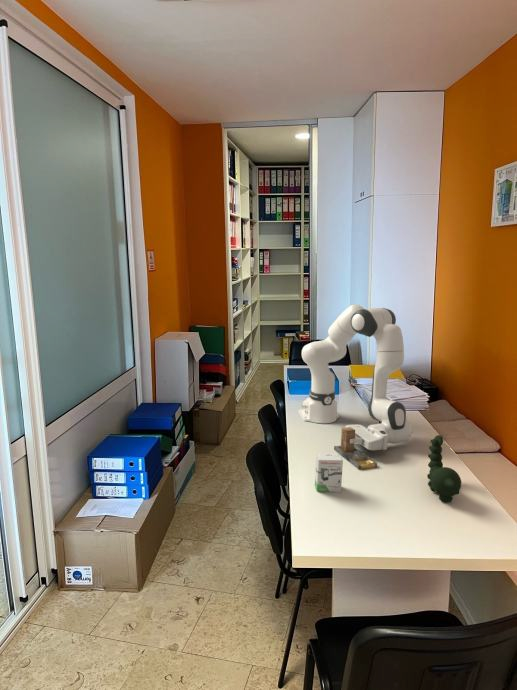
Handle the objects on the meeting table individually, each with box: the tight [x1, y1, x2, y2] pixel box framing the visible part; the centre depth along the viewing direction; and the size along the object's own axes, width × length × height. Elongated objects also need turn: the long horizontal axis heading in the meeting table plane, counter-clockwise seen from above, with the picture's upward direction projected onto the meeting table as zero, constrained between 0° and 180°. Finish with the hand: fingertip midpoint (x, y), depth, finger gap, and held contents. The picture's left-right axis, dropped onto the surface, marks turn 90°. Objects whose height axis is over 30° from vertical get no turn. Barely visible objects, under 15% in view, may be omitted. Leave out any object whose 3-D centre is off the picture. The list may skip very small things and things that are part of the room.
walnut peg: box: [340, 427, 356, 452], centre depth 204 cm, size 4×4×10 cm
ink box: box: [314, 453, 344, 493], centre depth 172 cm, size 9×5×12 cm, turn 91°
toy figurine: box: [426, 434, 462, 503], centre depth 170 cm, size 9×19×25 cm
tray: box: [333, 444, 378, 470], centre depth 199 cm, size 20×8×2 cm, turn 19°
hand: (346, 438), depth 203 cm, fingers closed on walnut peg, 4 cm apart
